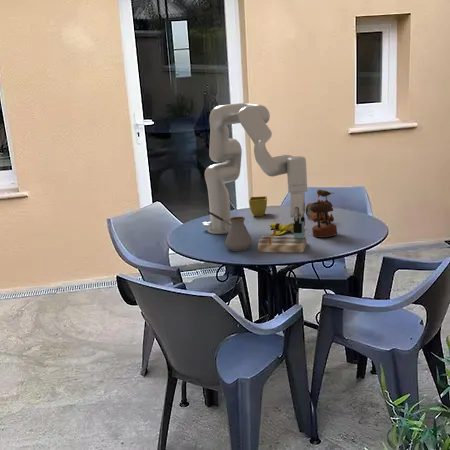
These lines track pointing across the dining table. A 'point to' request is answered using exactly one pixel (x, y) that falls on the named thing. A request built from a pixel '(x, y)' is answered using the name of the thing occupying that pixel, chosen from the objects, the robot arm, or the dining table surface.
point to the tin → (312, 215)
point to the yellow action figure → (281, 228)
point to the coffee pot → (236, 234)
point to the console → (281, 244)
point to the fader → (300, 235)
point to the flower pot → (258, 205)
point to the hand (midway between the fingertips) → (299, 229)
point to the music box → (319, 208)
